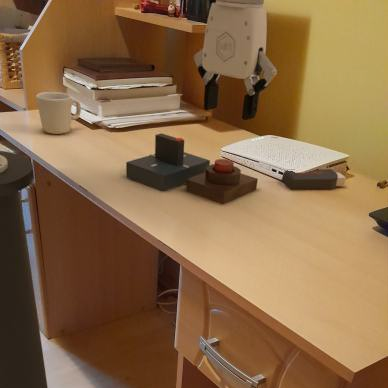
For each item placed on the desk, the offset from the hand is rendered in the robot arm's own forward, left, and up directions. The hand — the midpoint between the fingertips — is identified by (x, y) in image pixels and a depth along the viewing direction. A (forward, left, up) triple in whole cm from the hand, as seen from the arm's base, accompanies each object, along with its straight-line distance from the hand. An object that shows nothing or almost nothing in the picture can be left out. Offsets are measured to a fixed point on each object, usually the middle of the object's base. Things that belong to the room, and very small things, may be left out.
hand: (229, 113), depth 92 cm
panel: (-2, +12, -14) cm, 19 cm away
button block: (0, 0, -14) cm, 14 cm away
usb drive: (+17, -11, -14) cm, 25 cm away
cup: (+2, +50, -14) cm, 52 cm away
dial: (-2, +12, -11) cm, 16 cm away
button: (0, 0, -10) cm, 10 cm away
